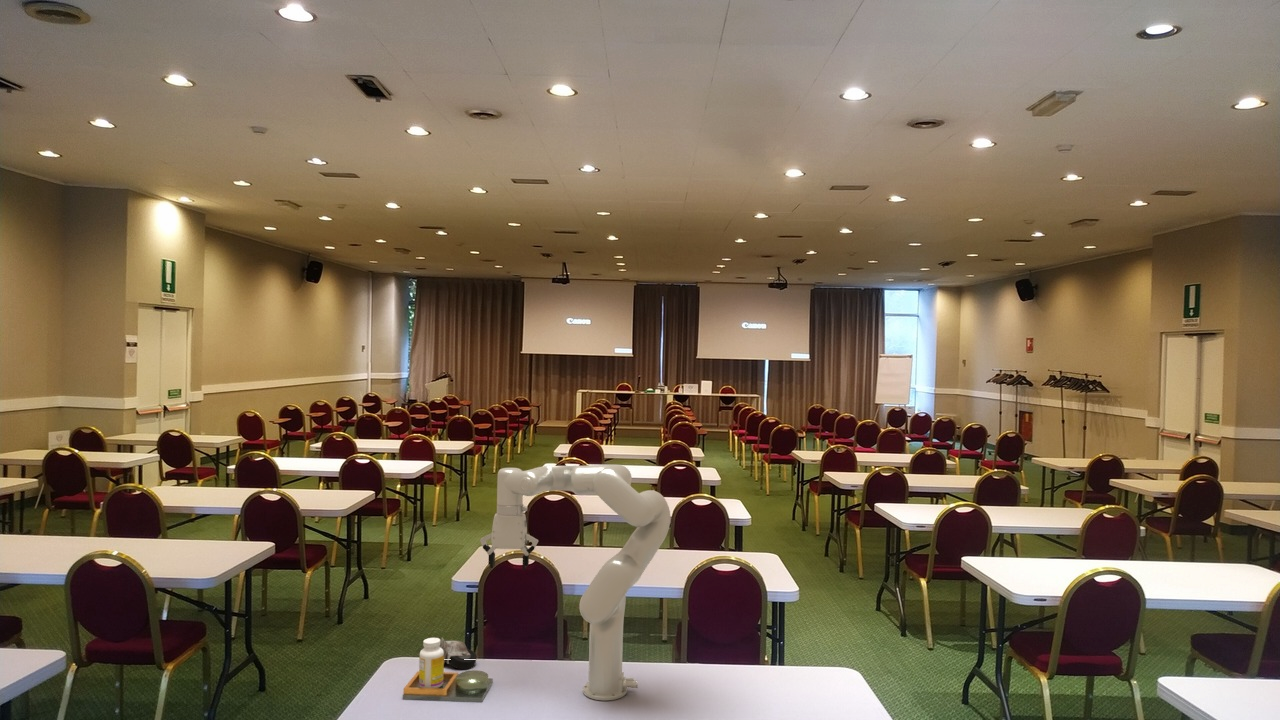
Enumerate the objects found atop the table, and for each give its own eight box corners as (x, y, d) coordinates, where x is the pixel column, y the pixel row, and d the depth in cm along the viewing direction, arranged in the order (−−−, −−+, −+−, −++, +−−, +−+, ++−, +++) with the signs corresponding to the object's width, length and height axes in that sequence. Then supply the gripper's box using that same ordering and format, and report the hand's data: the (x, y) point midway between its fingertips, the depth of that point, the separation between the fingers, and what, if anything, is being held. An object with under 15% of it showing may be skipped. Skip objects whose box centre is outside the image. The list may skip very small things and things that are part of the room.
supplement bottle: (446, 681, 221) (447, 637, 221) (438, 691, 214) (439, 645, 214) (424, 680, 222) (425, 635, 222) (415, 690, 215) (416, 643, 215)
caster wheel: (476, 675, 235) (445, 676, 230) (465, 655, 245) (435, 656, 240) (482, 655, 235) (450, 656, 229) (470, 635, 244) (440, 636, 239)
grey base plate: (492, 682, 224) (493, 668, 224) (482, 702, 211) (482, 686, 211) (418, 680, 225) (418, 665, 225) (402, 699, 212) (403, 684, 212)
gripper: (540, 508, 232) (539, 565, 232) (483, 506, 233) (482, 563, 233) (536, 513, 224) (535, 571, 224) (477, 511, 225) (476, 570, 225)
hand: (508, 567), depth 228 cm, fingers open, 9 cm apart
